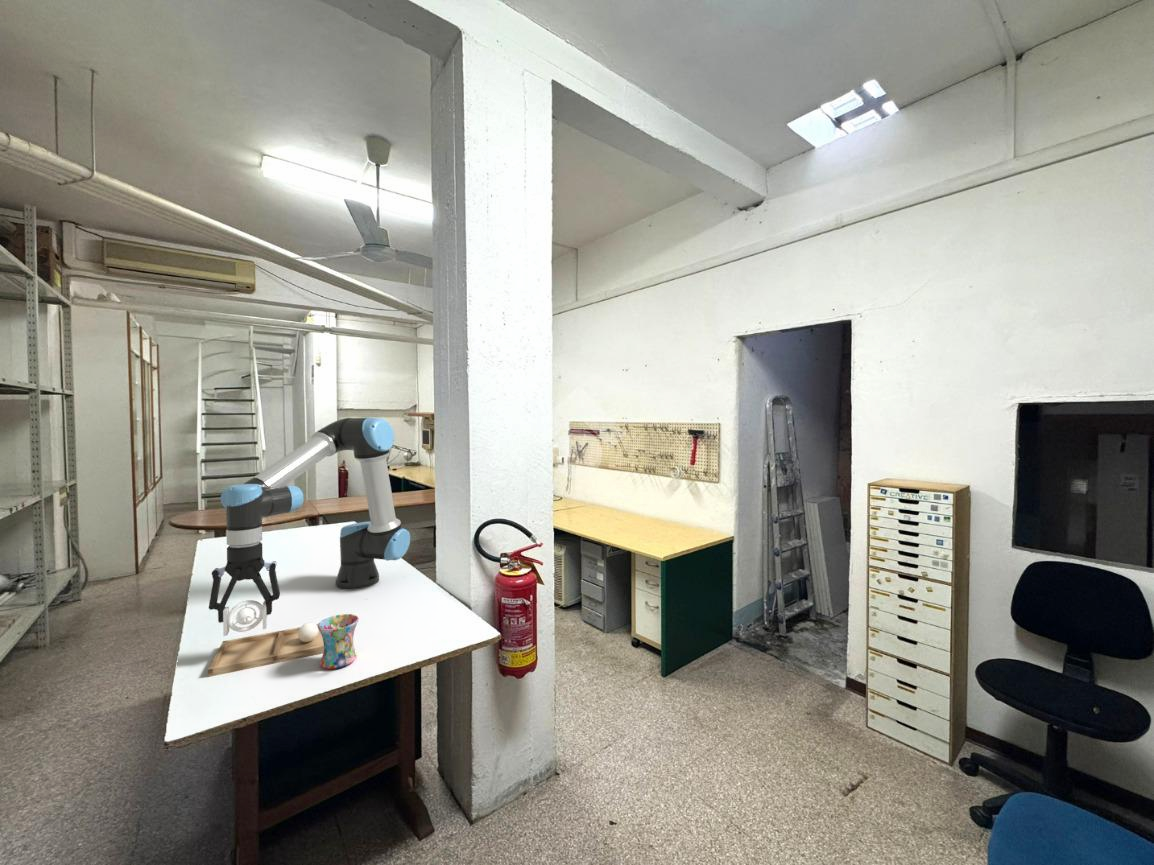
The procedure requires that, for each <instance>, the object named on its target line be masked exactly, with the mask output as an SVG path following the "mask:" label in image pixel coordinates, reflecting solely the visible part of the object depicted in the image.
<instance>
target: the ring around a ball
mask: <svg viewBox="0 0 1154 865" xmlns="http://www.w3.org/2000/svg"><path fill="white" fill-rule="evenodd" d="M248 605H252V606H255V607H257V608H258V611H259V615H258V617H257V611H256V609H254V608H253V607H251V606H248ZM262 605H263V603H261V602H259V601H257V600H252V599H251V600H245V601H243V600H242V602H239V603H237V604H236V605H234V606H233V607H232V608H231V610H229V614H228V617H227V623H228V626H229V629H231V630H232V631H234V632H239V633H240V632H241V633H243V632H244V633H245V632H248V631H251V630H252V629H254V628H256V627H257V626H258V625H259V624H260V623H261V622H263V611H262ZM244 606H245V607H244ZM242 607H243V608H242ZM237 610H238V612H237V613H236V611H237ZM235 613H236V615H235V620H236V622H233V618H234V617H233V616H234V614H235ZM253 621H254V622H253ZM252 622H253V623H252ZM251 623H252V624H251ZM237 624H239V625H241V626H243V627H241V626H237ZM245 625H248V626H245Z"/></svg>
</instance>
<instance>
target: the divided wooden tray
mask: <svg viewBox="0 0 1154 865" xmlns="http://www.w3.org/2000/svg"><path fill="white" fill-rule="evenodd" d="M315 624H316V623H315ZM318 624H319V623H317V624H316V625H317V626H318ZM300 627H301V626H300ZM300 627H294V628H288V629H284V630H277V631H272V632H266V633H259V634H255V635H250V636H244V637H239V638H233V639H232V638H231V639H228V640H223V641H222V642H221V644H220V646H219V648H218V650H217V652H216V654H215V656H214V658H213V659H212V660H211V662H210V666H208V668H207V677H208V678H211V677H215V676H219V675H224V674H226V675H227V674H231V673H235V672H239V671H240V672H241V671H244V670H245V671H246V670H249V669H256V668H259V667H260V668H261V667H265V666H270V665H274V664H279V663H285V662H290V661H294V660H299V659H302V658H310V657H314V656H318V655H323V652H324V643H323V638H322V635H321V633H320V631H319V632H318V635H317V637H316V638H315V639H314V640H312V641H310V642H303V641H301V640H300V639H299V637H298V631H299V629H300Z"/></svg>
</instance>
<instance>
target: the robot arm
mask: <svg viewBox="0 0 1154 865" xmlns="http://www.w3.org/2000/svg"><path fill="white" fill-rule="evenodd" d="M394 441H395V432H394V429H393V427H392V425H391V424H390V423H389V422H388V421H387V420H385V419H383V418H380V417H377V418H376V417H373V416H372V417H345V418H341V419H338V420H336V421H333V422H330V423H329V424H328V425H325V426H324V427H321V429H319V430H317V431H316V432H314V433H313V434H312V435H311V436H310V439H309V440H308V441H306V442H305V443H303V444H301V445H300V446H298V447H297V448H296V449H294V450H292V451H291V452H289V453H288V454H286V455H284V457H281V459H279V460H277V461H276V462H274V463H273V464H271V465H270V466H268V467H267V468H265V469H264V470H263V471H261V472H260V473H257V474H256V475H254V476H253V477H251V478H250V479H249V480H247V481H246V482H244V483H243V484H233V485H229V486H227V487H226V488H225V489H224V490H223V491H222V493H221V495H220V503H221V505H222V507H224V508H225V516H226V517H225V519H226V520H225V522H226V545H228V547H226V564H225V566H223V567H220V568H218V567H215V568H213V570H212V571H211V576H212V587H211V590H210V591H211V593H210V597H209V603H208V609H209V610H210V611H211V610H215V611H217V619H218V620H217V621H218V623H222V624H223V625H222V626H223V629H222V630H223V632H222V633H223V637H226V636H228V635H229V632H230V627H229V626H228V623H227V617H228V614H229V612H230V606H226V605H227V603H228V601H229V600H230V596H231V594H232V593H233V590H234V588H235V586H236V584H237V582H240V581H244V580H246V581H247V580H248V581H249V580H252V581H253V583H255V586H256V588H257V589H258V591H259V592H260V594H261V597H262V598H263V602H262V611H263V619H262V630H265V629H267V627H268V623H269V622H268V616H269V615H271V614H272V612H273V601H277V600H279V598H280V596H281V591H280V586H279V581H278V577H277V572H276V568H277V561H276V560H275V561H274V560H273V561H271V562H270V561H269V562H268V561H265V560H264V557H263V543H262V541H263V519H264V518H267V517H272V516H277V515H281V514H282V515H283V514H289V513H291V512H294V511H298V510H299V509H301V508H302V505H303V504H304V493H303V491H302V489H301V488H300V487H298V486H297V485H289V484H290V483H291V482H293V481H295V480H296V479H297V478H298V477H300V476H302V474H304V473H305V472H307V471H308V470H309V469H311V468H312V467H314V466H315V465H317V464H318V463H319V462H321V461H322V460H323V459H325V458H326V457H333V456H335V454H337V453H339V452H343V451H353V456H354V459H355V460H357V461H359V462H360V467H361V474H362V480H363V484H364V486H363V487H364V490H365V492H364V493H365V497H366V501H367V502H366V504H367V509H368V514H369V519H370V521H369V520H368V521H363V522H362V521H361V522H356V523H355V522H354V523H350V524H347V525H344V526H343V527H341V529H340V535H339V549H340V550H339V552H340V565H339V566H340V567H339V570H338V572H337V576H336V578H335V587H336V588H337V589H340V590H357V589H364V588H368V587H371V586H373V585H375V584H377V583H378V582H380V573H379V571H378V568H377V566H376V563H375V560H385V561H387V562H388V561H398V560H400V559H402V558H403V557H404V556H405V555H406V553H407V552H408V549H409V547H410V543H411V533H410V532H409V530H407V529H405V528H403V527H402V526H403V525H402V522H401V520H400V519H399V518H397V516H396V511H395V504H394V498H393V493H392V486H391V481H390V476H389V475H390V474H389V469H388V462H387V456H388V455H389V454H390V449H391V448H392V447H393V446H394ZM264 568H265V570H266V571H267V572H268V578H269V581H270V582H269V583H270V586H271V591H272V594H271V592H270V591H269V589H268V586H267V585H266V583H265V581H264V580H263V578H262V576H261V573H260V572H261V570H262V569H264ZM225 572H226V573H227V574H228V575H229V576H230V577H231V578H230V581H229V583H228V585H227V587H226V590H225V592H224V593H223V596H222V598H221V600H220V602H218V598H219V595H220V594H219V593H220V588H221V582H222V577H223V576H224V575H225Z"/></svg>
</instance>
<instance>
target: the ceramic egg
mask: <svg viewBox="0 0 1154 865" xmlns="http://www.w3.org/2000/svg"><path fill="white" fill-rule="evenodd" d="M318 632H319V629H318V626H317V625H316V623H314V622H307V623H304V624H303V625H301V626H300V629H299V631H298V637H299V639H300V640H301V641H303V642H310V641H312V640H314V639H315V638H316V637H317V635H318Z"/></svg>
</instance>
